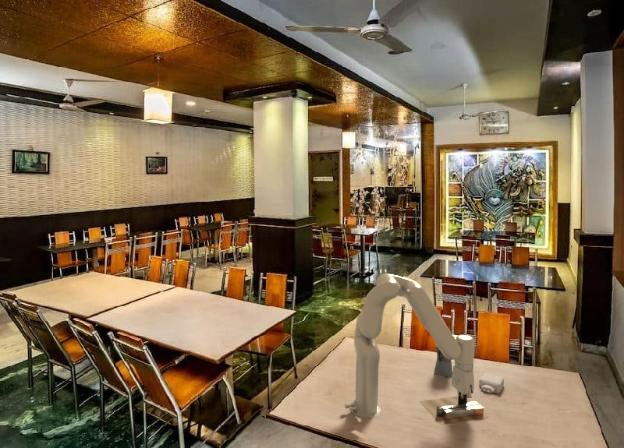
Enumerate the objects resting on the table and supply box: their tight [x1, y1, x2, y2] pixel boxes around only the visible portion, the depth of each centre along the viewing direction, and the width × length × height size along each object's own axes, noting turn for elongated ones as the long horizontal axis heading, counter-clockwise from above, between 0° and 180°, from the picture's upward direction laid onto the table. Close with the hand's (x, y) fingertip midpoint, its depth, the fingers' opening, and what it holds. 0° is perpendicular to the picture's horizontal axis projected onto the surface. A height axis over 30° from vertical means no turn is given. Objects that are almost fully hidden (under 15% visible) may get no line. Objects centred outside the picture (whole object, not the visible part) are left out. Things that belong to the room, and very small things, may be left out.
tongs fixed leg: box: [444, 404, 485, 419], centre depth 172 cm, size 17×2×3 cm, turn 104°
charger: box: [478, 372, 505, 394], centre depth 197 cm, size 5×9×15 cm
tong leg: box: [436, 400, 480, 417], centre depth 175 cm, size 19×3×3 cm, turn 103°
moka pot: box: [433, 345, 453, 378], centre depth 211 cm, size 10×15×20 cm, turn 148°
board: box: [418, 395, 489, 425], centre depth 178 cm, size 22×18×1 cm
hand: (462, 405), depth 178 cm, fingers closed
